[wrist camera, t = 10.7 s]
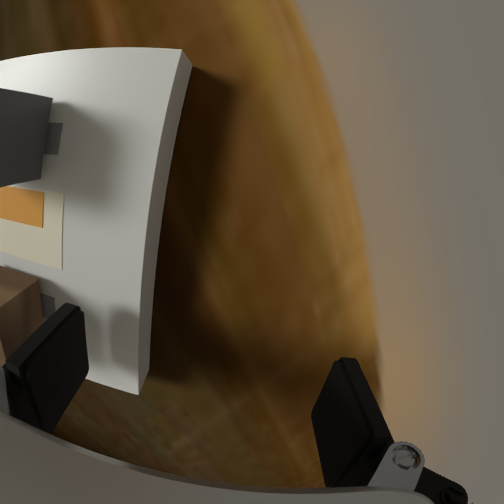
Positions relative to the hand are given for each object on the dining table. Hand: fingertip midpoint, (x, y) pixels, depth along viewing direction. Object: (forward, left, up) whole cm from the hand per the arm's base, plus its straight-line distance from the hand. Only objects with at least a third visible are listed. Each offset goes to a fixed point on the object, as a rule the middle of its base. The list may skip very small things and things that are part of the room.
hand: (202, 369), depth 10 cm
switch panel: (-3, -12, -3) cm, 13 cm away
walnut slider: (0, -9, -1) cm, 9 cm away
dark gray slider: (-7, -9, -1) cm, 11 cm away
